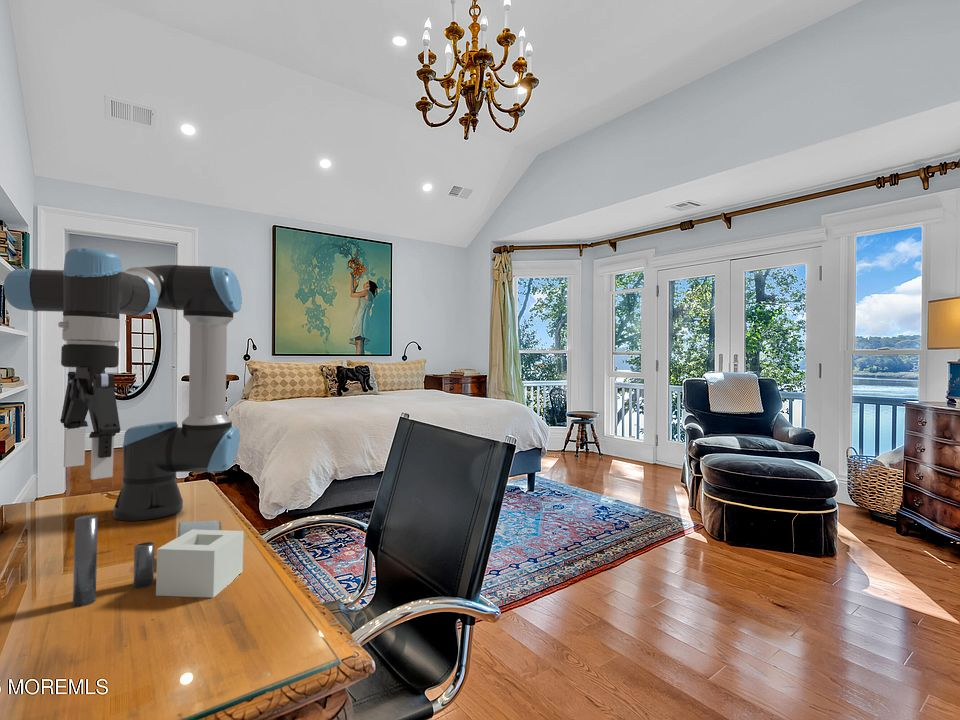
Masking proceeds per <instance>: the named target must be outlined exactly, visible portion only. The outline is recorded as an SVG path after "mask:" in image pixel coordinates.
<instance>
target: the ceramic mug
mask: <svg viewBox="0 0 960 720" xmlns="http://www.w3.org/2000/svg"><path fill="white" fill-rule="evenodd" d="M192 529H196V530H224V525H223V522H222V521H220V520H215V519H214V520H212V519H211V520H201V521H199V520H195V521H180V522H178V531H177V538H178V537H179V536H181V535H183V534H185V533H187V532H188V531H190V530H192Z"/></svg>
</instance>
